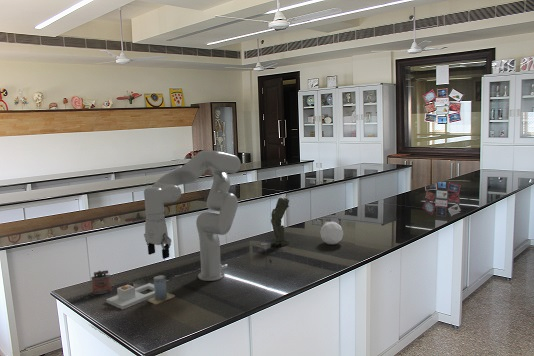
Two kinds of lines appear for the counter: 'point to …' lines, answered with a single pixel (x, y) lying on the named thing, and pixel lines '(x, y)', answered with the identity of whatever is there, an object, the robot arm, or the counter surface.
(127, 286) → the brown egg
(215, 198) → the robot arm
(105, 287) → the lighter
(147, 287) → the dock
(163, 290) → the cylinder
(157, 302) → the pad
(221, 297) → the counter surface
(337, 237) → the geodesic sphere
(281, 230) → the mechanical leg
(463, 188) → the counter surface
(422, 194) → the counter surface
